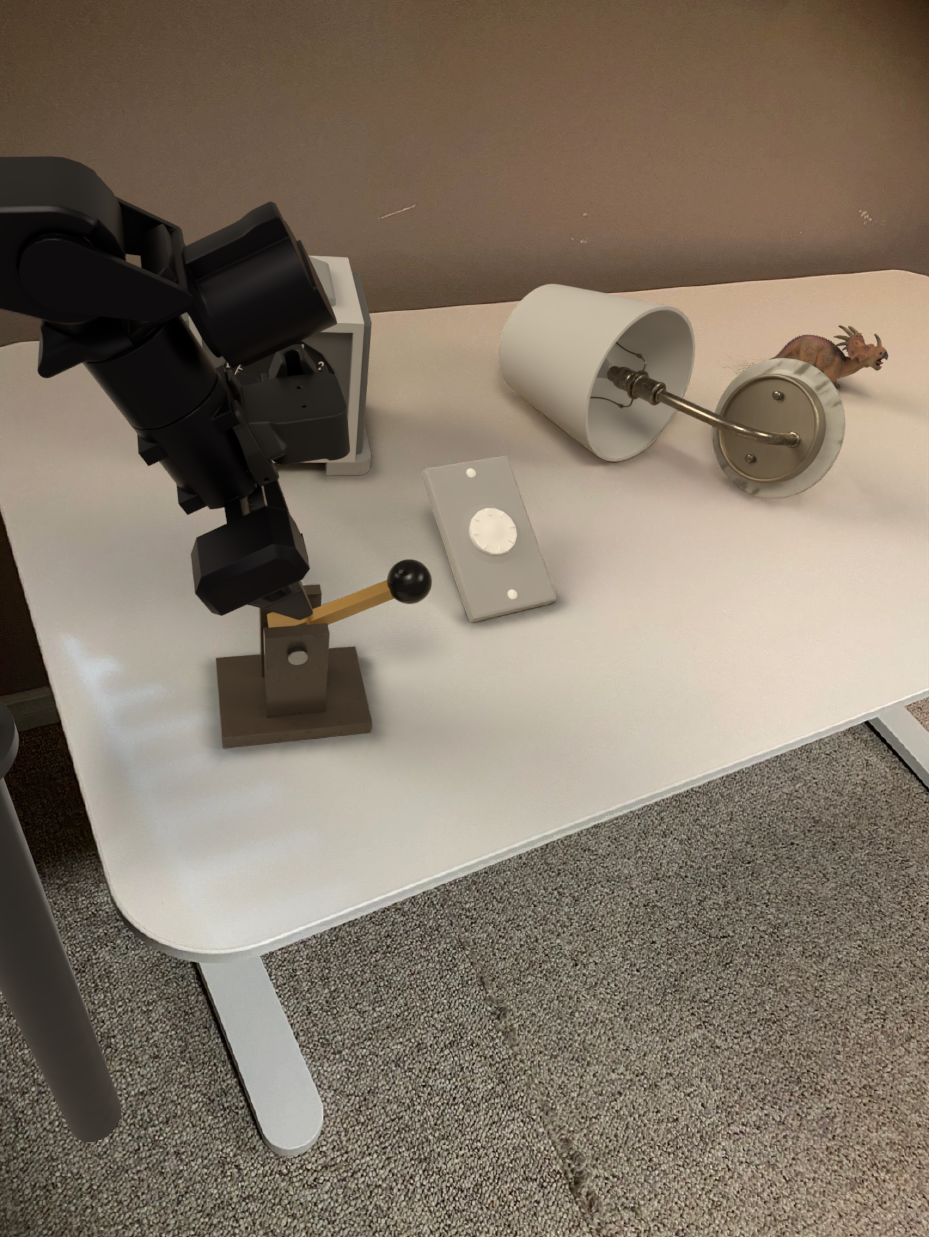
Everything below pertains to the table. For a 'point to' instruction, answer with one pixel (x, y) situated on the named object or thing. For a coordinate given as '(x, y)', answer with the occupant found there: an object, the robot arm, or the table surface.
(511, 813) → the table surface
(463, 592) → the light switch
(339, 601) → the lever
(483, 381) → the table surface
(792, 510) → the table surface
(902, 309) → the table surface
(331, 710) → the switch bracket
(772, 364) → the light fixture
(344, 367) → the alarm clock
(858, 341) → the dinosaur figurine
